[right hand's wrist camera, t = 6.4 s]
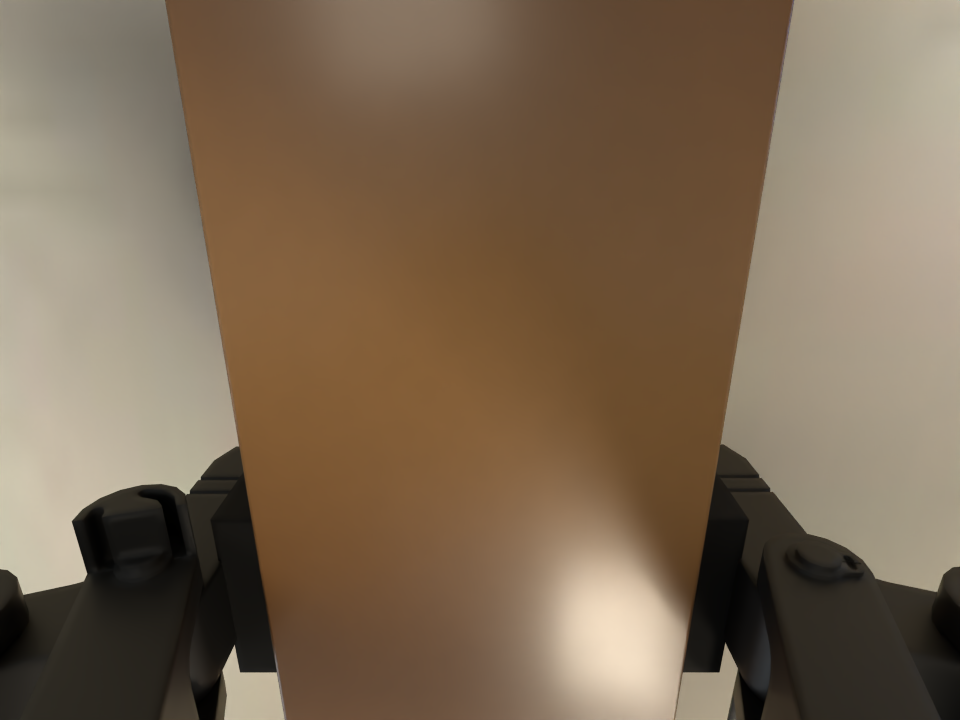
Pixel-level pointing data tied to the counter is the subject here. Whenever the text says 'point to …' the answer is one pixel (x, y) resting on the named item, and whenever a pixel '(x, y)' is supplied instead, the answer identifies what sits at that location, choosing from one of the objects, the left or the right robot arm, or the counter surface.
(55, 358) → the counter surface
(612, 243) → the bar
